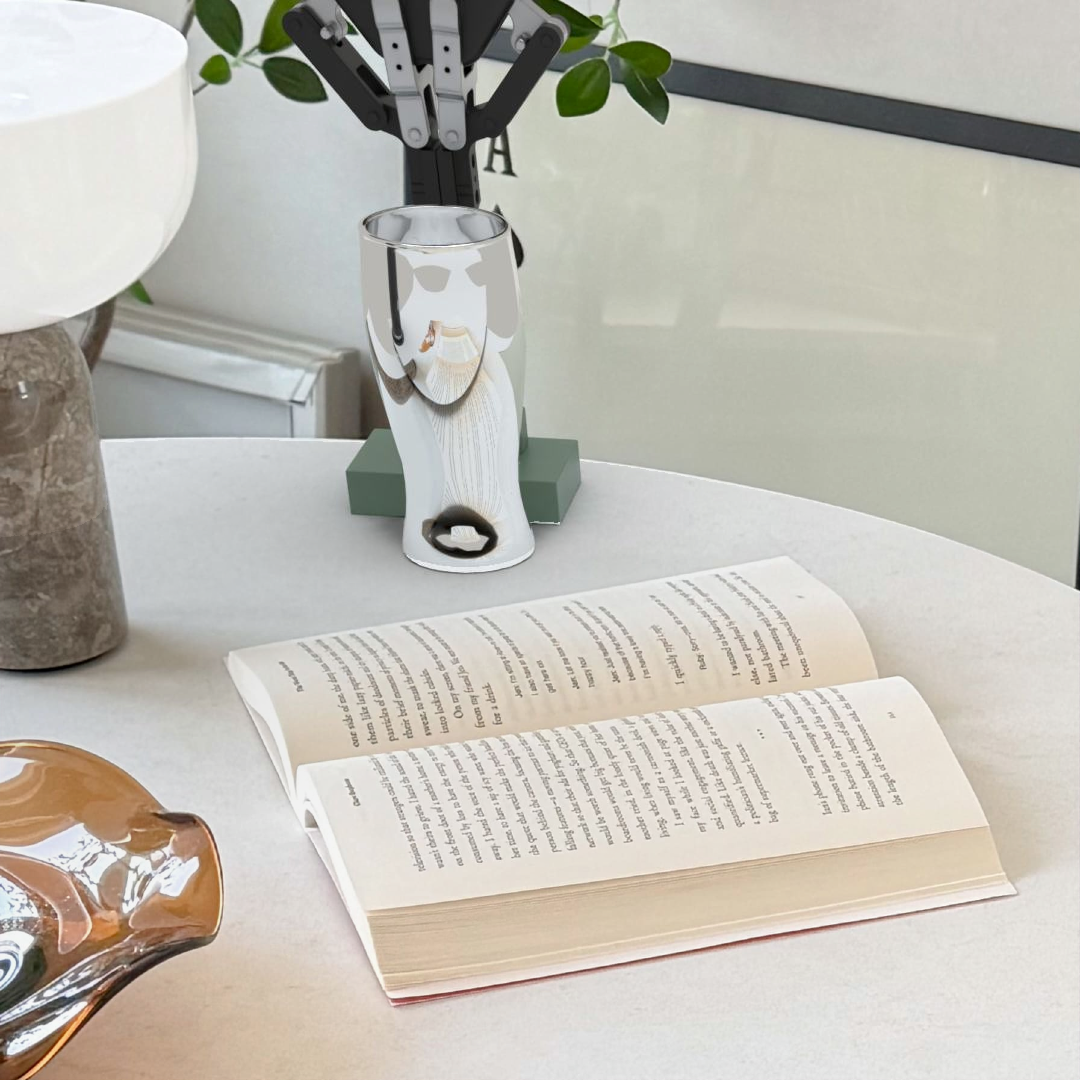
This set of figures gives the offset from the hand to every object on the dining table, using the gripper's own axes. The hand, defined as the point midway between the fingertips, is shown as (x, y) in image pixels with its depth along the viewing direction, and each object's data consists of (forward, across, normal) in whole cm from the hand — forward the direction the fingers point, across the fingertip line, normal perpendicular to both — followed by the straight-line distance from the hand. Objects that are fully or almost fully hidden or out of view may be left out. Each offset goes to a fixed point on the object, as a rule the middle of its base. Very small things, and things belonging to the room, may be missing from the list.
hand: (450, 226), depth 131 cm
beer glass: (+13, +1, -8) cm, 15 cm away
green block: (+13, 0, -1) cm, 13 cm away
